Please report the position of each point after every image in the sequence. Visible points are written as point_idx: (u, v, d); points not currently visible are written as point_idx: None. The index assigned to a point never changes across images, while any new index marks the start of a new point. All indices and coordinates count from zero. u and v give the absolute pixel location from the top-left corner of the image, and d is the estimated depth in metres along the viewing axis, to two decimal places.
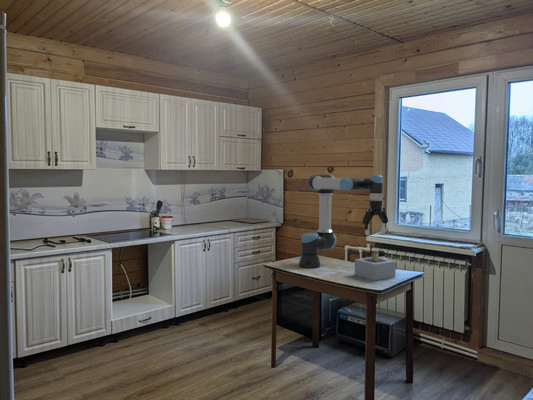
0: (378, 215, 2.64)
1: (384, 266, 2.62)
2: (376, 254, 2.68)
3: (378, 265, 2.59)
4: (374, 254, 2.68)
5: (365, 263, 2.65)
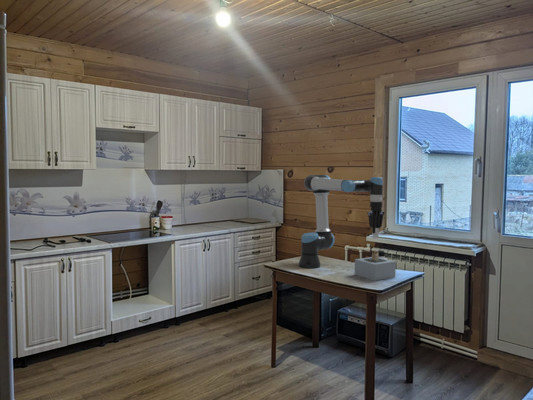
0: None
1: (384, 266, 2.62)
2: (376, 254, 2.68)
3: (378, 265, 2.59)
4: (374, 254, 2.68)
5: (365, 263, 2.65)
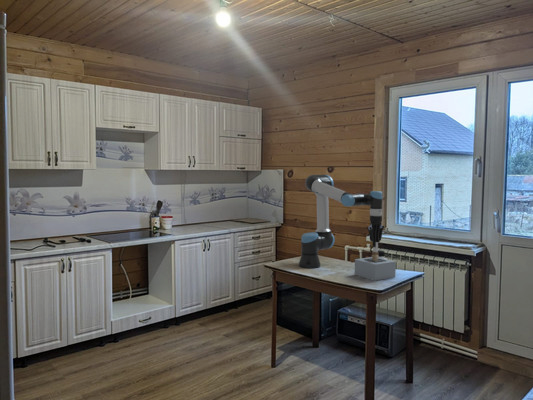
0: None
1: (384, 266, 2.62)
2: (376, 255, 2.68)
3: (378, 265, 2.59)
4: (374, 255, 2.68)
5: (365, 263, 2.65)
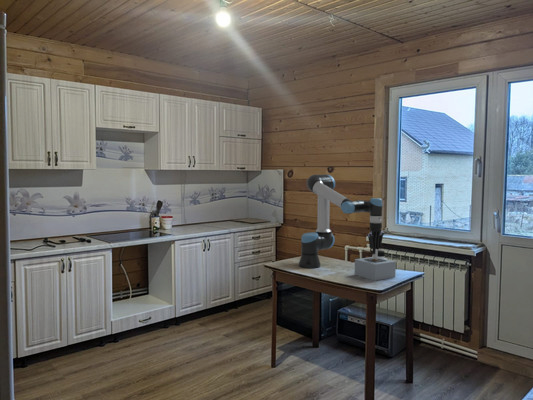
0: None
1: (384, 266, 2.62)
2: None
3: (378, 265, 2.59)
4: None
5: (365, 263, 2.65)
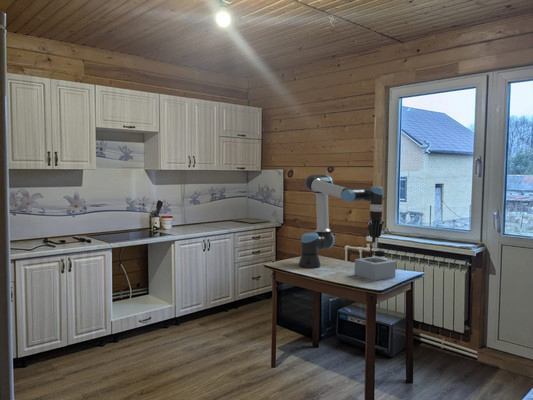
0: None
1: (384, 266, 2.62)
2: None
3: (378, 265, 2.59)
4: None
5: (365, 263, 2.65)
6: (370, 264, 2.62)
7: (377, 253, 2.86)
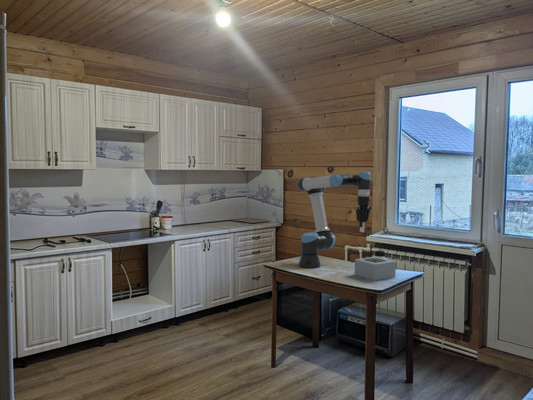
0: None
1: (384, 266, 2.62)
2: None
3: (378, 265, 2.59)
4: None
5: (365, 263, 2.65)
6: (370, 264, 2.62)
7: (377, 253, 2.86)
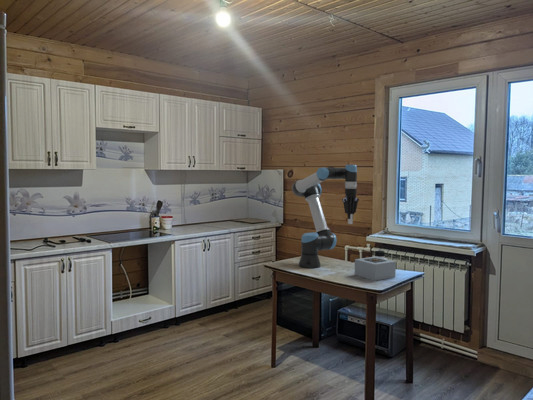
0: None
1: (384, 266, 2.62)
2: None
3: (378, 265, 2.59)
4: None
5: (365, 263, 2.65)
6: (370, 264, 2.62)
7: (377, 253, 2.86)
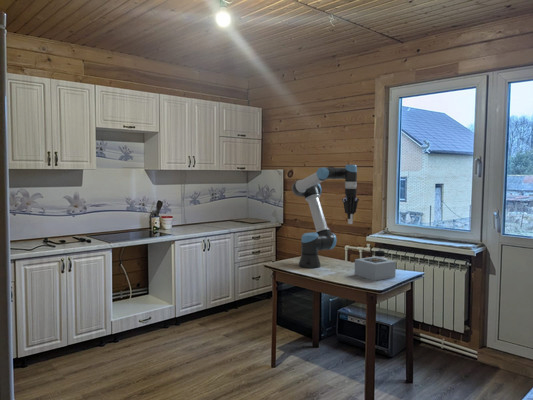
0: None
1: (384, 266, 2.62)
2: None
3: (378, 265, 2.59)
4: None
5: (365, 263, 2.65)
6: (370, 264, 2.62)
7: (377, 253, 2.86)
